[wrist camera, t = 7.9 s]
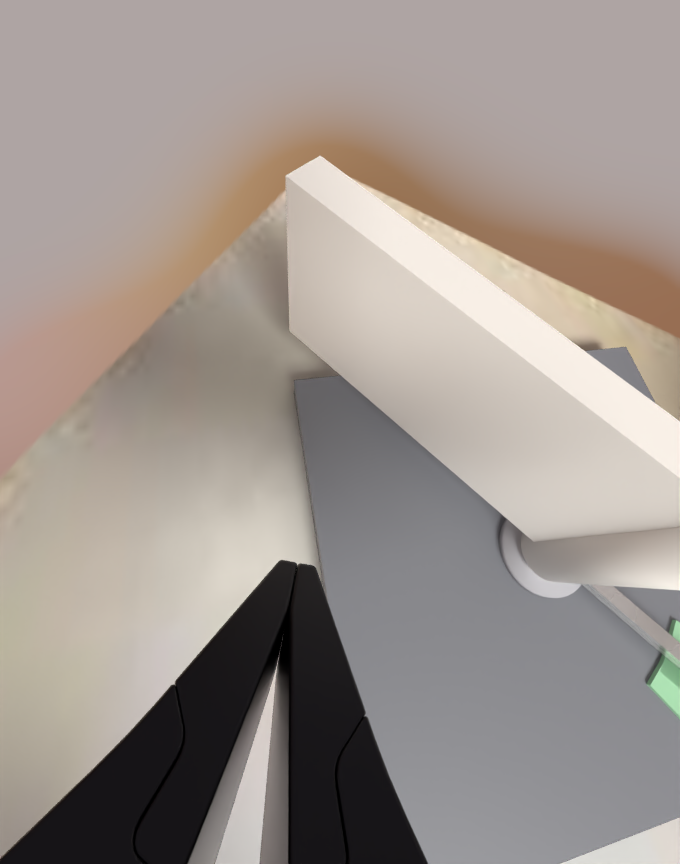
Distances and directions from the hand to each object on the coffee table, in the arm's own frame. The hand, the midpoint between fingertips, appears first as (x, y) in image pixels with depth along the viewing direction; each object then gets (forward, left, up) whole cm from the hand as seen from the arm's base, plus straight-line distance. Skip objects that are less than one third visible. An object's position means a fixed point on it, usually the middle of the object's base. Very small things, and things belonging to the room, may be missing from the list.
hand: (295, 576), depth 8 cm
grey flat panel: (+12, -1, -10) cm, 16 cm away
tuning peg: (+10, +1, -8) cm, 13 cm away
